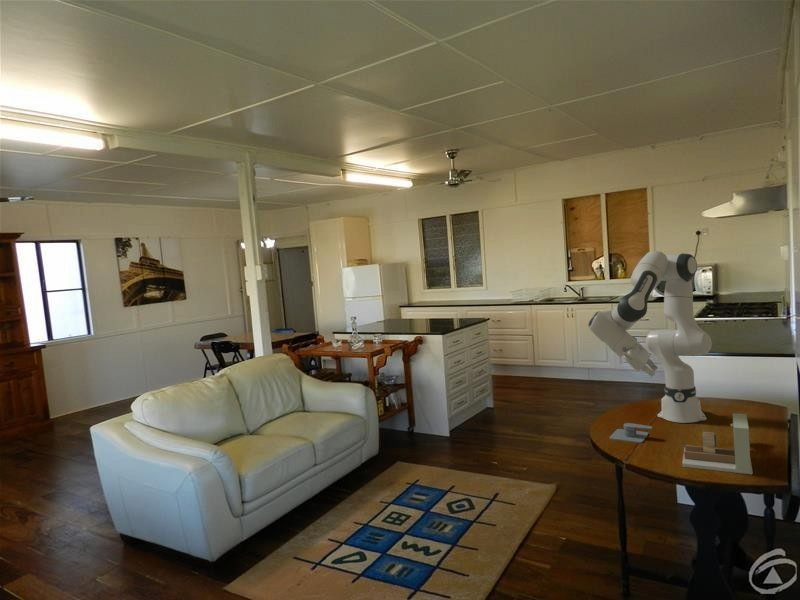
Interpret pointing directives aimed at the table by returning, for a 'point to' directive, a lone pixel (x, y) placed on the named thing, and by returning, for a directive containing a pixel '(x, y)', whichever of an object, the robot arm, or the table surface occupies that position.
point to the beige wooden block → (709, 442)
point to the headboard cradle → (724, 452)
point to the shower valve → (631, 433)
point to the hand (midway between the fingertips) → (655, 372)
